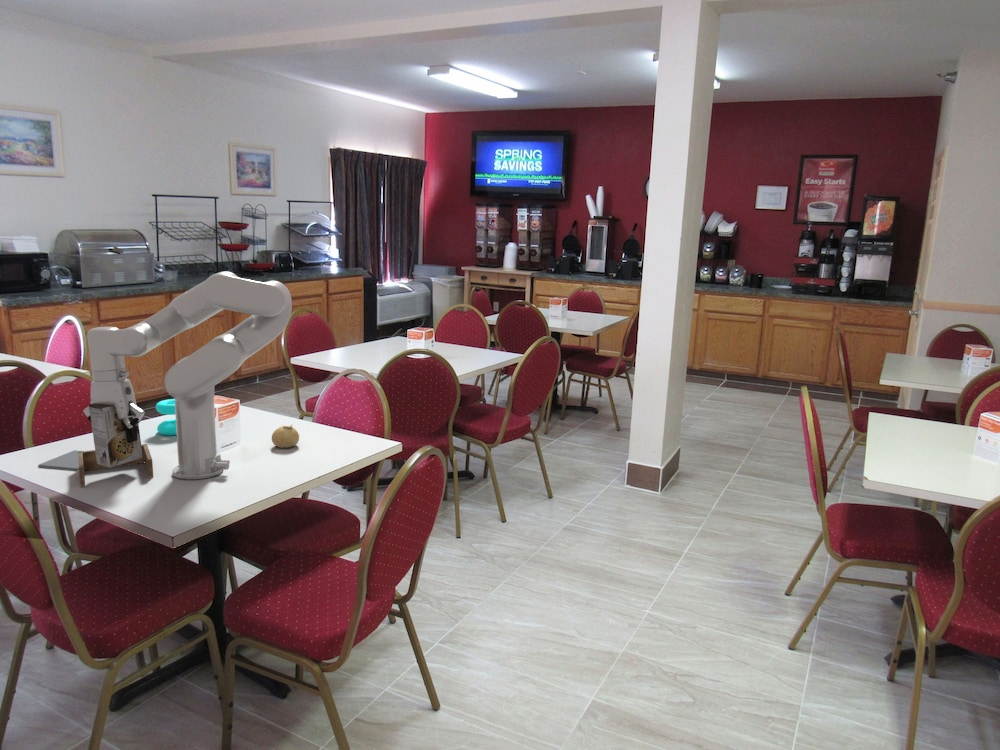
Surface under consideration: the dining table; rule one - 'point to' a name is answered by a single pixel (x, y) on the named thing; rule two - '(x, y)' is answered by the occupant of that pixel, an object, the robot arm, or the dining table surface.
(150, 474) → the walnut cubby
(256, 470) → the dining table surface
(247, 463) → the dining table surface
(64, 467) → the charcoal mat
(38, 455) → the dining table surface
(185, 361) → the robot arm
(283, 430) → the onion
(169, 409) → the donuts
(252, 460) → the dining table surface
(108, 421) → the coffee box
